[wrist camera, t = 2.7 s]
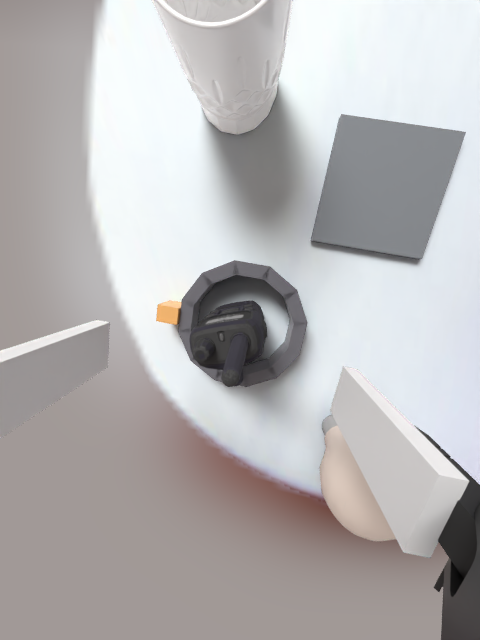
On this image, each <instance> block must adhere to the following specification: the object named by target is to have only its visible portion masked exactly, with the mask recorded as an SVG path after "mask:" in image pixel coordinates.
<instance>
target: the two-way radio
mask: <svg viewBox="0 0 480 640" xmlns="http://www.w3.org/2000/svg"><path fill="white" fill-rule="evenodd" d="M266 337H267V327H266V323H265V321H264V316H263V313H262V310H261V308H260V306H259V305H258V304H257V303H256V302H254V301H242V302H236V303H231V304H226V305H222V306H220V307H218V308H217V309H216V310H214V311H212V312H210V314H209V315H207V316H206V317H205V319H203V320H202V321H201V322H200V323H199V324H197V325H196V326H195V327H194V328H193V330H192V332H191V334H190V339H189V342H190V348H191V352H192V355H193V358H194V359H195V360H196V361H197V362H198V364H199V365H200V366H202V367H205V368H209V369H217V370H223V371H222V376H221V380H222V381H223V383H224V384H225V385H226V386H227V387H232V386H238V385H240V384H241V383H242V382H243V366H245V365H246V364H247V363H250V362H252V361H254V360H255V359H257V358H258V357H259V356H260V355H261V354H262V351H263V346H264V342H265V338H266Z"/></svg>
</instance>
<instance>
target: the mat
mask: <svg viewBox="0 0 480 640" xmlns="http://www.w3.org/2000/svg"><path fill="white" fill-rule="evenodd" d="M465 133H466V132H462V131H455V130H448V129H441V128H434V127H427V126H420V125H413V124H406V123H399V122H392V121H385V120H378V119H371V118H364V117H357V116H350V115H343V114H341V116H340V118H339V121H338V126H337V130H336V134H335V139H334V143H333V147H332V151H331V156H330V160H329V164H328V169H327V173H326V177H325V181H324V186H323V190H322V194H321V199H320V203H319V207H318V212H317V216H316V220H315V224H314V229H313V233H312V237H311V241H314V242H320V243H326V244H332V245H338V246H344V247H350V248H355V249H361V250H367V251H373V252H379V253H385V254H391V255H397V256H403V257H409V258H414V259H422V257H423V254H424V251H425V248H426V245H427V243H428V240H429V237H430V234H431V231H432V228H433V225H434V222H435V220H436V217H437V214H438V211H439V208H440V205H441V202H442V199H443V197H444V194H445V191H446V188H447V185H448V182H449V179H450V176H451V173H452V171H453V168H454V165H455V162H456V159H457V156H458V153H459V150H460V148H461V145H462V142H463V139H464V136H465Z"/></svg>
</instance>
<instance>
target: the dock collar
mask: <svg viewBox="0 0 480 640" xmlns="http://www.w3.org/2000/svg"><path fill="white" fill-rule="evenodd" d="M235 275H241V276H246V277H252V278H257V279H263V280H265V281H266V282H267V283H268V284H269V285H271V286H272V287H273V288H274V289H275V290H276V291H278V292H279V293H280V294H281V295H282V296H283V298H284V301H285V304H286V307H287V310H288V313H289V316H290V321H289V326H288V330H287V334H286V339H285V342H284V343H283V344H282V345H281V346H280V347H279V348H278V349H277V350H276V351H275V352H274V353H273V354H272V355H271V356H270V357H269V358H268V359H265V360H261V361H258V362H255V363H252V364H248V365H245V366H243V382H242V383H241V384H240V386H245V387H247V386H250V385H254V384H257V383H261V382H264V381H268V380H271V379H275V378H277V377H278V376H279V375H280V374H281V373H282V372H283V371H284V370H285V369H286V368H287V367H288V366H289V365H290V364H291V363H292V362H293V361H294V360H295V359H296V358H297V357H298V356H299V355H300V351H301V347H302V343H303V339H304V335H305V331H306V327H307V320H306V317H305V314H304V311H303V307H302V304H301V301H300V298H299V295H298V292H297V290H296V289H295V288H294V287H293V286H292V285H291V284H289V283H288V282H287V281H286V280H285V279H284V278H282V277H281V276H280V275H279V274H278V273H277V272H276V271H274V270H273V269H272V268H271V267H269V266H263V265H257V264H252V263H246V262H240V261H232V262H230V263H227V264H224V265H222V266H219V267H217V268H214V269H211V270H209V271H206V272H204V273H202V274H201V275H200V277H199V278H198V279H197V280H196V282H195V283H194V284H193V286H192V287H191V288H190V290H189V291H188V292H187V293H186V295H185V296H184V297H183V299H182V302H176V301H171V300H170V301H167V302H164V303H161V304H158V308H157V319H156V321H159V322H164V323H169V324H175V325H177V324H179V329H178V332H179V335H180V337H181V339H182V342H183V344H184V346H185V349H186V351H187V353H188V356H189V358H190V360H191V361H192V362H193V363H194V364H195V365H197V366H198V367H199V368H200V369H202V370H203V371H204V372H205V373H207V374H208V375H209V376H210V377H212V378H213V379H214V380H216V381H221V382H223V381H222V380H221V376H222V371H223V370H217V369H209V368H205V367H202V366H200V365H199V364H198V362H197V361H196V360H195V359H194V358H193V355H192V352H191V348H190V342H189V339H190V334H191V332H192V330H193V328H194V327H195V326H196V325H197V324H198V317H199V309H200V302H201V300H202V299H203V298H204V297H205V295H206V294H207V293H208V292H209V290H210V289H211V288H212V286H213V285H214V284H215V283H216V282H219V281H222V280H224V279H227V278H230V277H232V276H235Z"/></svg>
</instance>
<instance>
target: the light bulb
mask: <svg viewBox="0 0 480 640" xmlns="http://www.w3.org/2000/svg"><path fill="white" fill-rule="evenodd" d="M322 429H323V432H324V434H325V445H326V449H325V453H324V456H323V459H322V462H321V464H320V480H321V490H322V494H323V496H324V499H325V501H326V503H327V505H328V507H329V509H330V510H331V512H332V513H333V515H334V516H335V517H336V519H337V520H338V521H339V522H340V523H341V524H342V525H343V526H344V527H345V528H346V529H348V530H349V531H350V532H352V533H353V534H354V535H357V536H359V537H362V538H365V539H368V540H371V541H386V540H393V539H396V538H395V536H394V534H393V532H392V530H391V528H390V526H389V524H388V522H387V520H386V518H385V516H384V514H383V512H382V510H381V508H380V507H379V505H378V503H377V501H376V499H375V497H374V495H373V493H372V491H371V489H370V487H369V485H368V483H367V481H366V479H365V478H364V476H363V474H362V472H361V470H360V468H359V466H358V464H357V462H356V460H355V458H354V456H353V454H352V452H351V450H350V448H349V447H348V445H347V443H346V441H345V439H344V437H343V435H342V433H341V431H340V429H339V427H338V425H337V423H336V421H335V419H334V418H333V416H332V415H330V416H328V417H326V418H325V419H324V420H323V423H322Z"/></svg>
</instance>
